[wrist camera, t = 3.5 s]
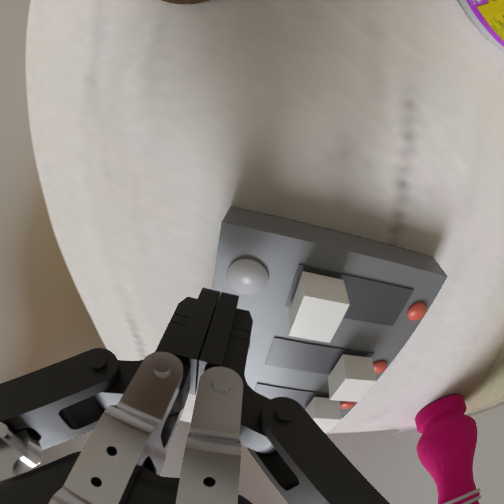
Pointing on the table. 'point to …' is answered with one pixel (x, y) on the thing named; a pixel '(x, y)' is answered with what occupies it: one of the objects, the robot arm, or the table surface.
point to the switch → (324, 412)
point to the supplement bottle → (487, 18)
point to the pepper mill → (449, 449)
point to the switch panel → (327, 264)
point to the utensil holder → (185, 1)
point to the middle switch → (351, 378)
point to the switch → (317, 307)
